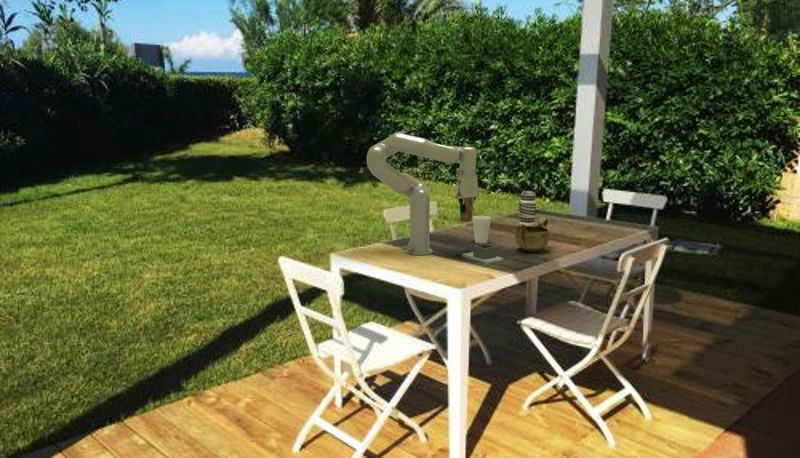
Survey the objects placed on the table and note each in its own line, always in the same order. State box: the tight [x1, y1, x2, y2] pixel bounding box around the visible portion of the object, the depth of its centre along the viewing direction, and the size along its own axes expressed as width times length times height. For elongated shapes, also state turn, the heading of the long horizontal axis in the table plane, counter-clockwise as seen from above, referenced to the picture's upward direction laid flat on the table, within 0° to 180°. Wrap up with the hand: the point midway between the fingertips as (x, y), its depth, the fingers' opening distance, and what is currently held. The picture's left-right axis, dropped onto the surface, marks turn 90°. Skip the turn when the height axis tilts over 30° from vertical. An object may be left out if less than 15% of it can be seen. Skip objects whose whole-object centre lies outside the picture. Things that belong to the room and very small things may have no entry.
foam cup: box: [472, 215, 492, 244], centre depth 344 cm, size 10×9×13 cm
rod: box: [459, 197, 474, 223], centre depth 316 cm, size 4×4×14 cm
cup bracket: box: [462, 243, 504, 264], centre depth 311 cm, size 10×17×6 cm, turn 35°
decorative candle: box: [518, 190, 538, 226], centre depth 354 cm, size 9×9×25 cm
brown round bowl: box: [514, 217, 550, 253], centre depth 326 cm, size 22×17×15 cm
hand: (466, 211), depth 317 cm, fingers closed on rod, 4 cm apart
